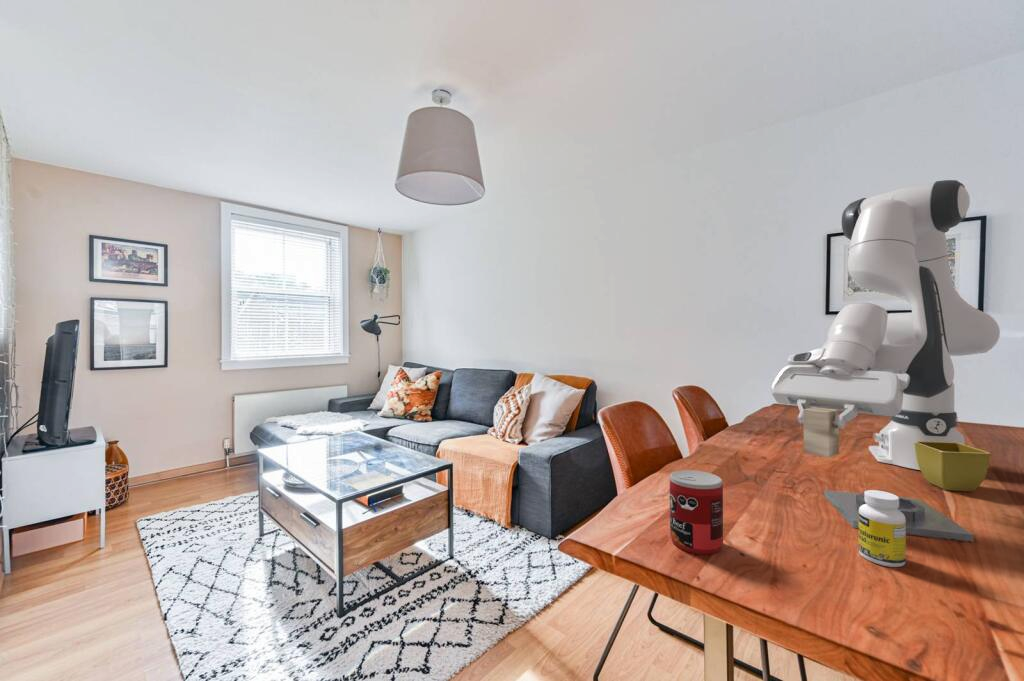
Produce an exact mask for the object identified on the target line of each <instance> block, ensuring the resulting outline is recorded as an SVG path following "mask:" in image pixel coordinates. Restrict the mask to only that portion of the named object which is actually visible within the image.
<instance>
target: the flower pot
mask: <svg viewBox="0 0 1024 681" xmlns="http://www.w3.org/2000/svg"><path fill="white" fill-rule="evenodd" d="M914 444H915V451H916V457H917V462H918V466H919V468H920V470H919V471H920V472H921V474H922V475H923V476H924V479H925V480H926V481H927V482H928V483H930V484H932V485H934V486H936V487H938V488H940V489H942V490H945V491H955V492H956V491H957V492H958V491H959V492H974V491H975V490H977V489H978V487H980V486H981V484H982V483H983V482H984V481H985V479H986V477H987V472H988V470H989V465H990V461H991V456H992V453H990V452H988V451H985V450H984V449H983V450H982V449H979V448H976V447H973V446H970V445H967V444H965V443H964V444H965V445H964V444H960V443H953V442H923V441H915V442H914Z"/></svg>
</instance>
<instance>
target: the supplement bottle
mask: <svg viewBox="0 0 1024 681" xmlns="http://www.w3.org/2000/svg"><path fill="white" fill-rule="evenodd" d="M863 493H864V499H865V502H866V503H867V504H863V505H861V506H860V508H859V528H858V552H859V554H860V555H861V557H862V558H864V559H866V560H868V561H869V562H872V563H874V564H877V565H879V566H880V565H881V566H884V567H890V568H899V567H903V566H905V565H906V560H907V559H906V558H907V557H906V553H907V550H906V548H907V544H906V543H907V541H906V538H907V534H906V519H905V516H904V514H903V513H902V512H901V511H899V510H897V508H899V497H900V496H899V497H898V495H896V494H894V493H891V492H888V491H884V490H883V491H882V490H876V489H868V490H864V491H863Z"/></svg>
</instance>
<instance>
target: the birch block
mask: <svg viewBox="0 0 1024 681" xmlns="http://www.w3.org/2000/svg"><path fill="white" fill-rule="evenodd" d="M833 415H837V416H839V410H835V409H826V408H817V407H810V408H807V409H803V422H804V423H803V453H805V454H809V455H814V456H819V457H825V458H832V457H834V456H838V455H839V454H840V441H839V440H840V439H839V438H840V437H839V436H840V434H839V432H840V431H839V430H840V429H838V428H833V426H832V425H831V420H832V419H833Z"/></svg>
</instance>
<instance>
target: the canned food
mask: <svg viewBox="0 0 1024 681" xmlns="http://www.w3.org/2000/svg"><path fill="white" fill-rule="evenodd" d="M723 488H724V485H723V479H722V478H721V477H720V476H718V475H716V474H713V473H711V472H707V471H702V470H693V469H690V470H689V469H687V470H686V469H684V470H683V469H681V470H675V471H673V472H670V474H669V528H670V529H669V530H670V531H669V532H670V533H669V535H670V538H671V542H672V544H673V545H674V546H676V547H677V548H679V549H680V550H683V551H685V552H688V553H691V554H697V555H713V554H717V553H719V552H720V551H722V550H721V549H722V548H723V545H724V489H723Z"/></svg>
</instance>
